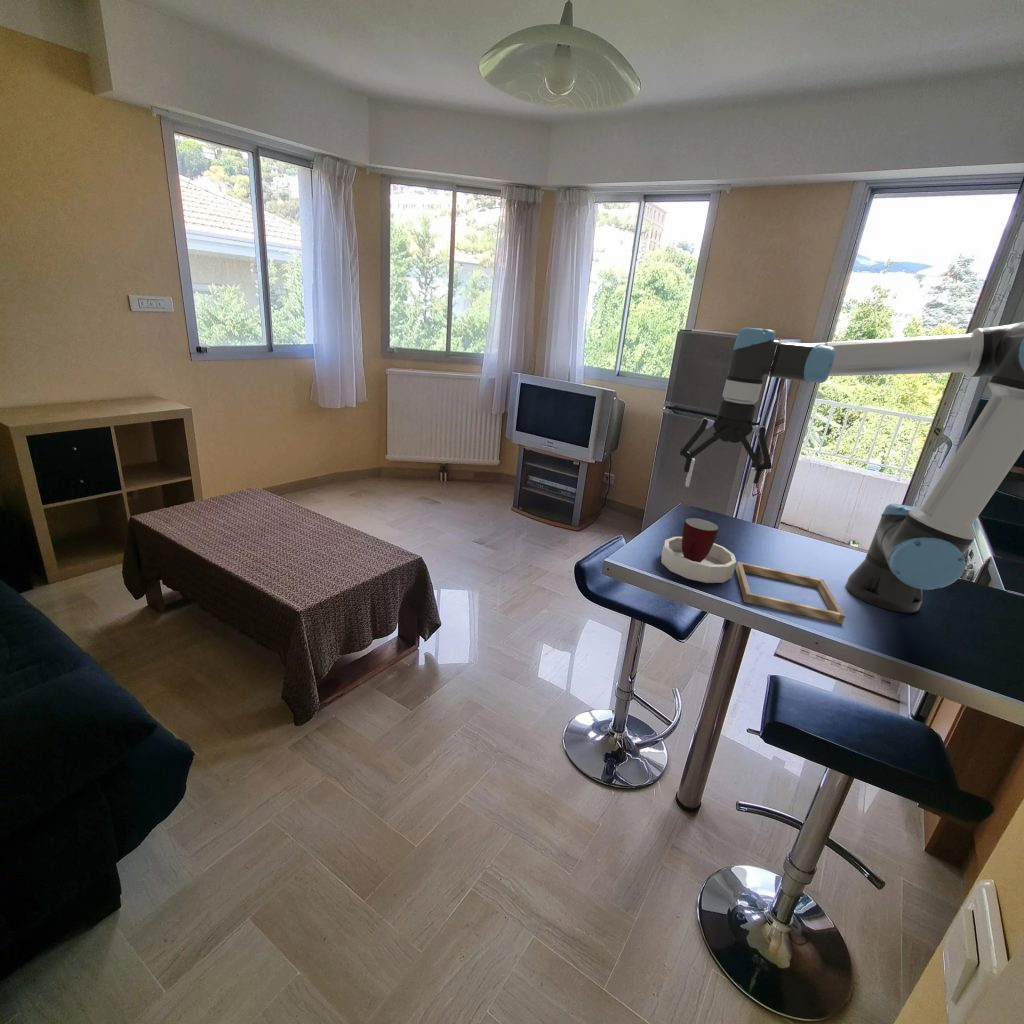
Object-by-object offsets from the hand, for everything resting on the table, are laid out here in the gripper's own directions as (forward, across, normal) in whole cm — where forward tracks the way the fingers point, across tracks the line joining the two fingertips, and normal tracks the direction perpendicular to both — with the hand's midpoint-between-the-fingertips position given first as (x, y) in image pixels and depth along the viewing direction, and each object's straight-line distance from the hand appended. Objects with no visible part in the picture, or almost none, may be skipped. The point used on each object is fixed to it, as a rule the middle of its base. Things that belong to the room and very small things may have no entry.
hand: (716, 490), depth 123 cm
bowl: (+20, 0, 0) cm, 20 cm away
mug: (+20, +2, 0) cm, 20 cm away
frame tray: (+20, -20, +5) cm, 29 cm away
